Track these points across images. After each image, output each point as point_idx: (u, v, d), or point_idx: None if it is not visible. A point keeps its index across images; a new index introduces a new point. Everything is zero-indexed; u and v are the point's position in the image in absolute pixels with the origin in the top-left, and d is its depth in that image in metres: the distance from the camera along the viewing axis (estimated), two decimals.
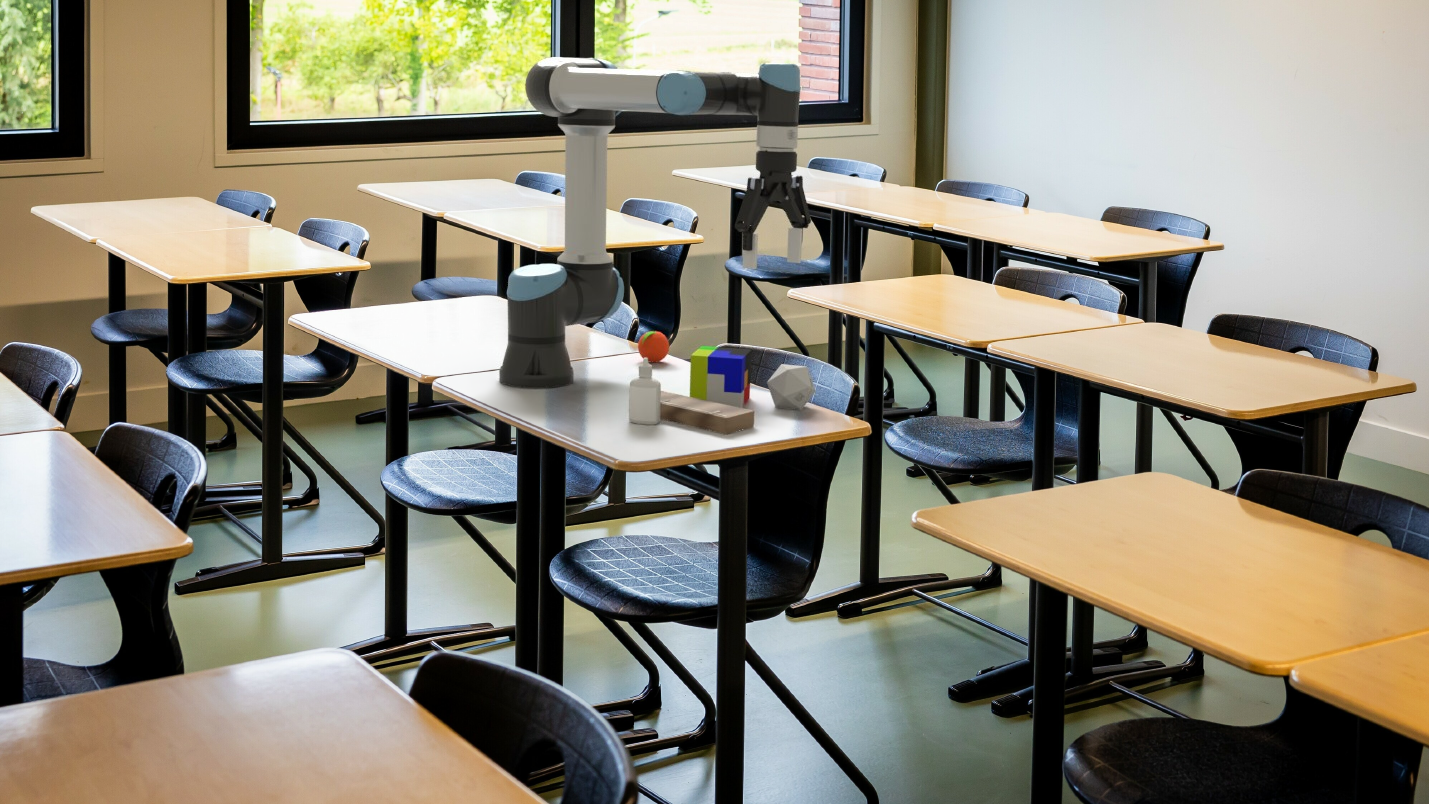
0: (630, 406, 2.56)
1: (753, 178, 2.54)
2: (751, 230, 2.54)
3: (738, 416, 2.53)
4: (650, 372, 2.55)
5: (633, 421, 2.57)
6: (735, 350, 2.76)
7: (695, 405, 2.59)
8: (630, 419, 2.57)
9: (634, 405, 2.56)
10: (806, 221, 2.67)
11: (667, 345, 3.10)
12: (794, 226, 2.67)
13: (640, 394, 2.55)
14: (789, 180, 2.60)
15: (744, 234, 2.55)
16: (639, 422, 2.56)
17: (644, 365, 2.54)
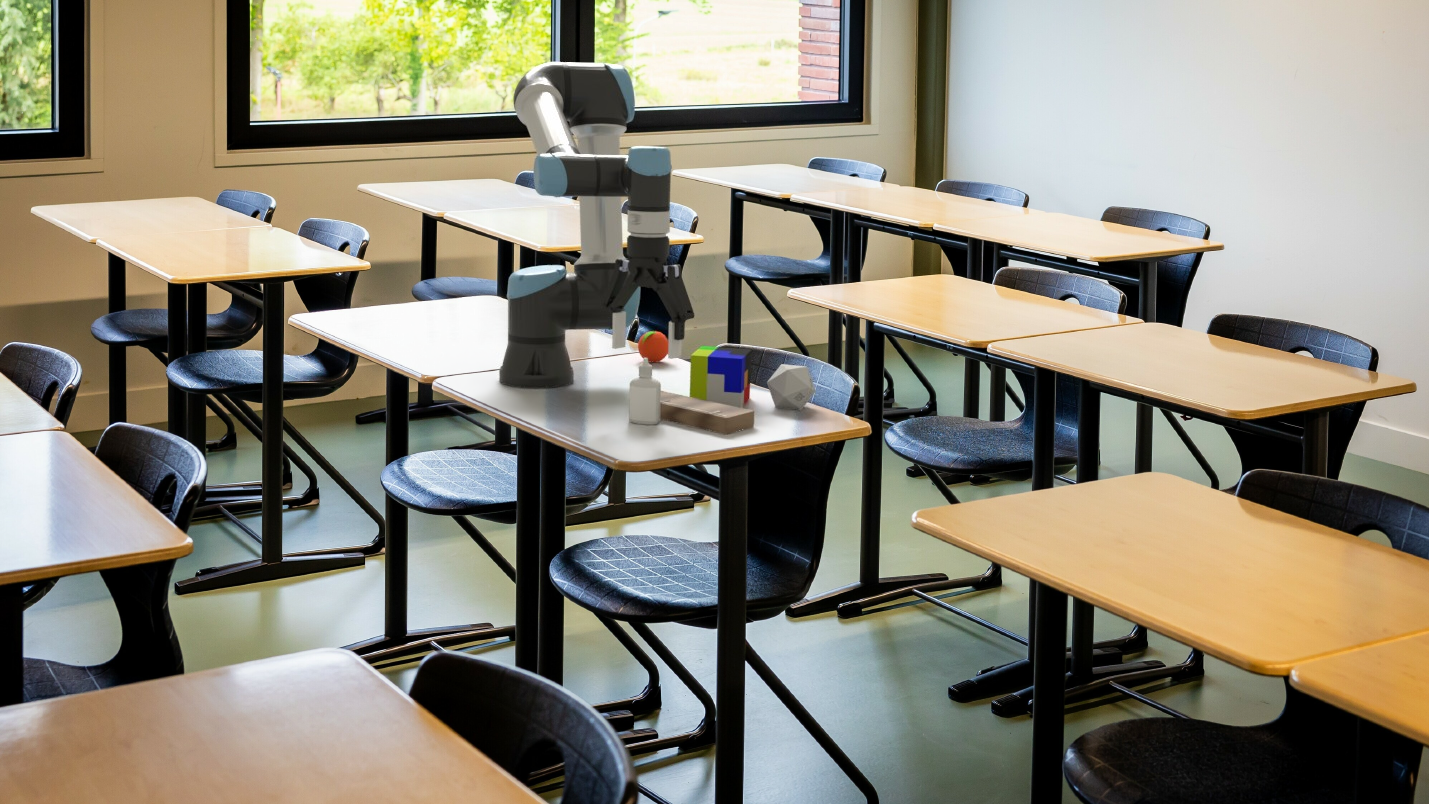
0: (630, 406, 2.56)
1: (621, 259, 2.55)
2: (609, 309, 2.57)
3: (738, 416, 2.53)
4: (650, 372, 2.55)
5: (633, 421, 2.57)
6: (735, 350, 2.76)
7: (695, 405, 2.59)
8: (630, 419, 2.57)
9: (634, 405, 2.56)
10: None
11: (667, 345, 3.10)
12: None
13: (640, 394, 2.55)
14: (655, 268, 2.48)
15: None
16: (639, 422, 2.56)
17: (644, 365, 2.54)
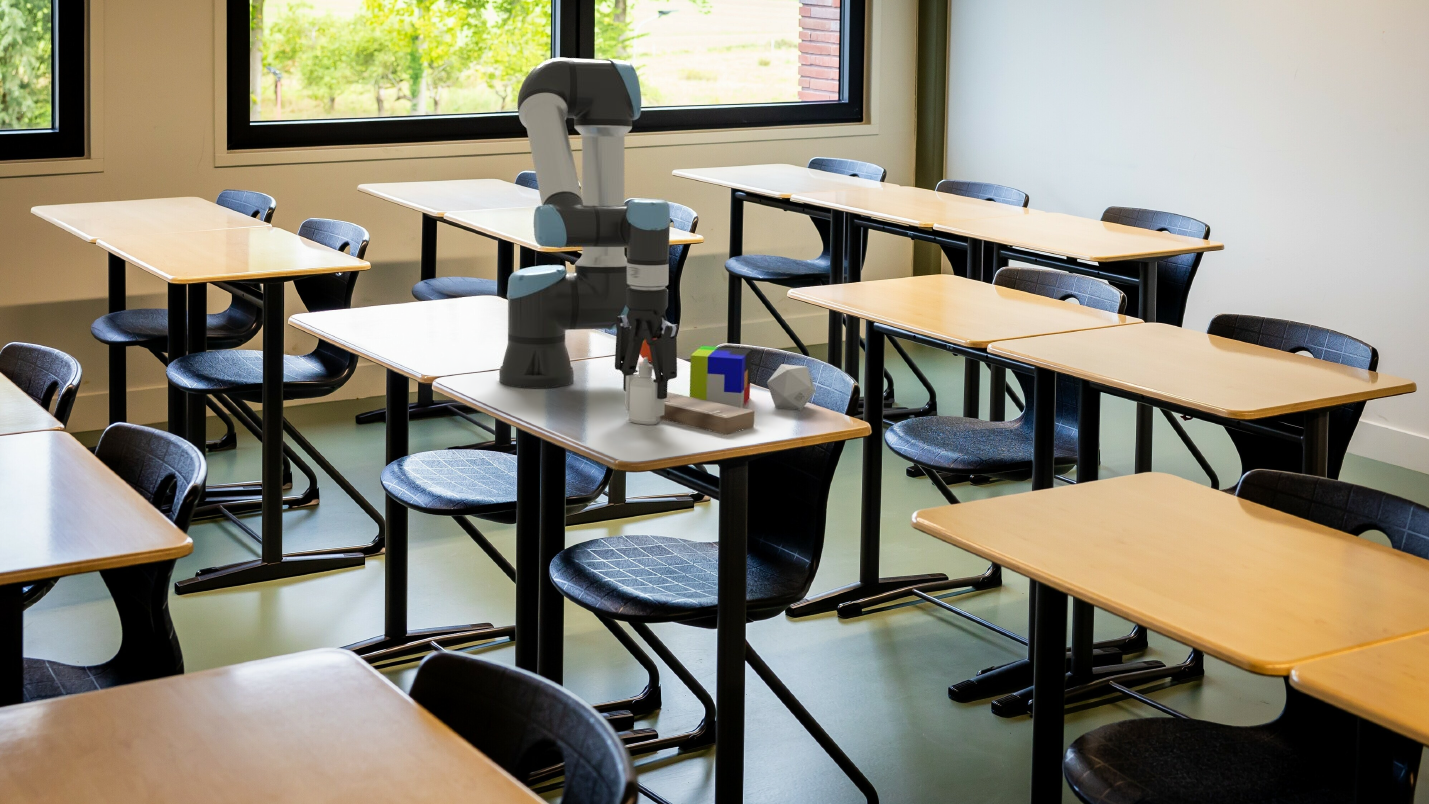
0: (630, 406, 2.56)
1: None
2: (622, 372, 2.57)
3: (738, 416, 2.53)
4: (650, 372, 2.55)
5: (633, 421, 2.57)
6: (735, 350, 2.76)
7: (695, 405, 2.59)
8: (630, 419, 2.57)
9: (634, 405, 2.56)
10: None
11: None
12: None
13: (640, 394, 2.55)
14: (654, 319, 2.51)
15: None
16: (639, 422, 2.56)
17: (644, 365, 2.54)
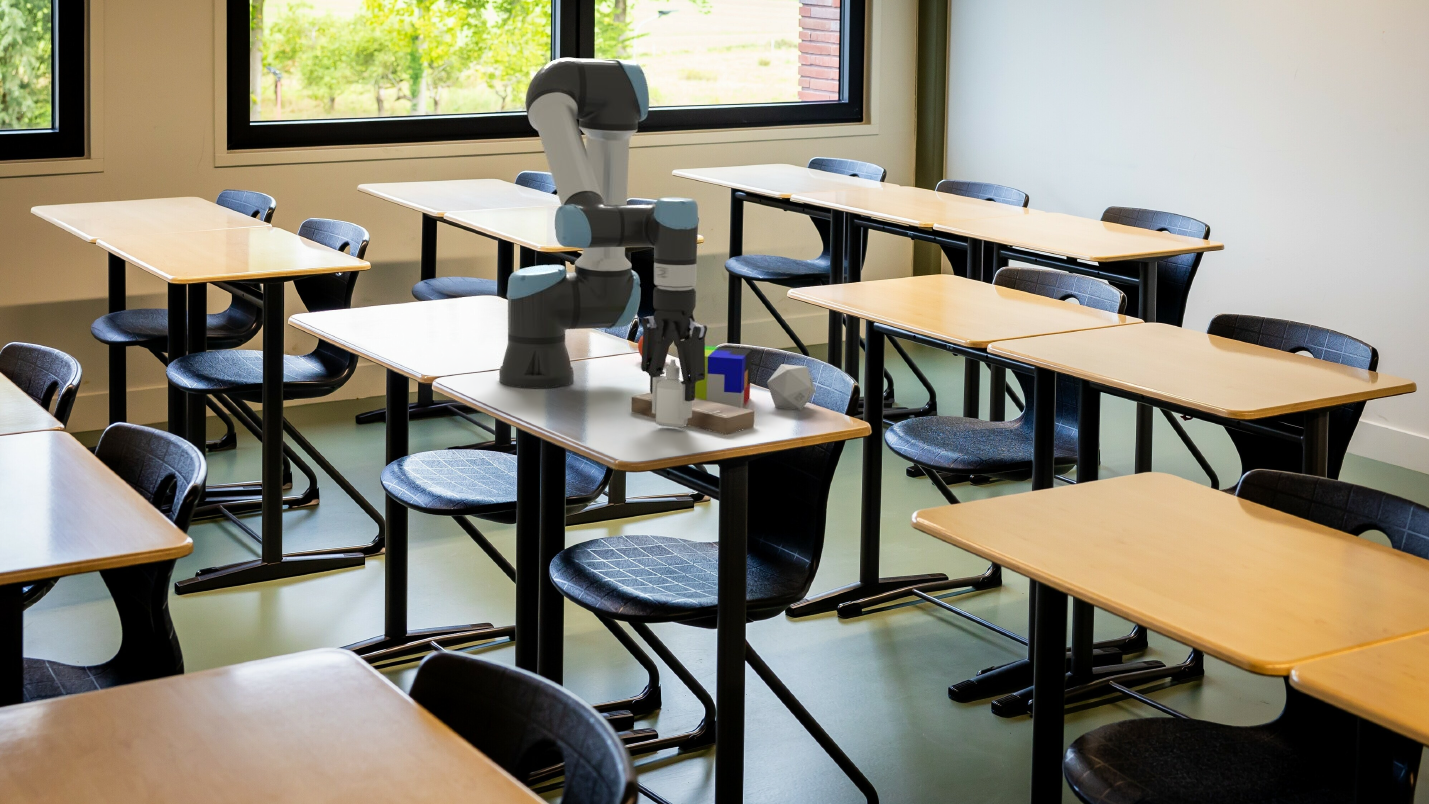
0: (657, 408, 2.52)
1: None
2: (649, 374, 2.53)
3: (738, 416, 2.53)
4: (677, 374, 2.50)
5: (660, 423, 2.52)
6: (735, 350, 2.76)
7: (695, 405, 2.59)
8: (657, 421, 2.53)
9: (661, 407, 2.51)
10: None
11: None
12: None
13: (667, 396, 2.50)
14: (682, 320, 2.46)
15: None
16: (666, 424, 2.52)
17: (671, 366, 2.50)
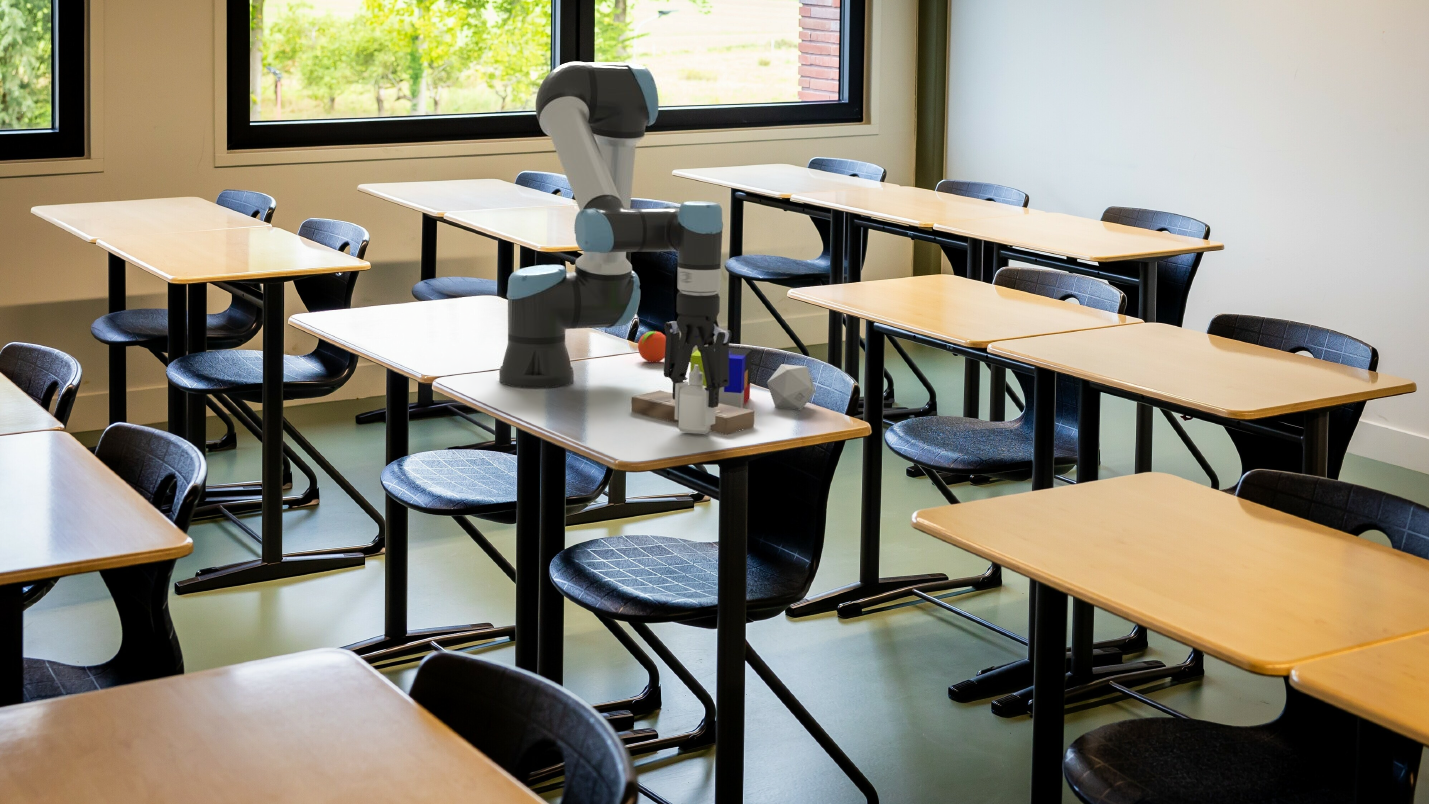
0: (680, 414, 2.49)
1: None
2: (672, 380, 2.50)
3: (738, 416, 2.53)
4: (701, 379, 2.47)
5: (683, 430, 2.49)
6: (735, 350, 2.76)
7: None
8: (680, 428, 2.49)
9: (684, 413, 2.48)
10: None
11: None
12: None
13: (690, 403, 2.47)
14: (706, 326, 2.43)
15: None
16: (689, 431, 2.49)
17: (695, 372, 2.47)
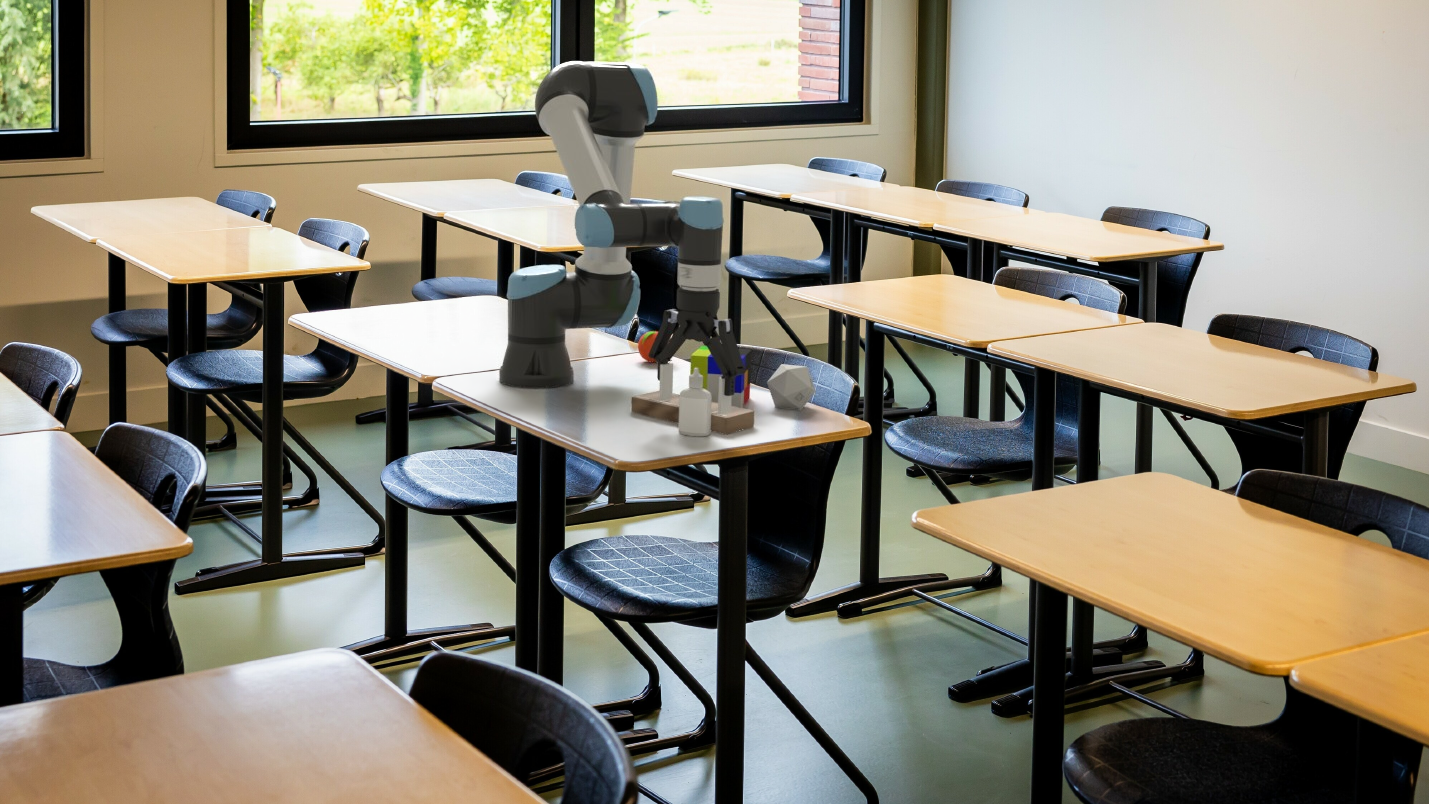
0: (680, 417, 2.49)
1: (669, 310, 2.50)
2: (656, 360, 2.52)
3: (738, 416, 2.53)
4: (701, 382, 2.47)
5: (683, 433, 2.49)
6: None
7: None
8: (680, 431, 2.50)
9: (684, 416, 2.48)
10: None
11: None
12: None
13: (690, 405, 2.47)
14: (705, 322, 2.43)
15: None
16: (689, 434, 2.49)
17: (695, 375, 2.47)
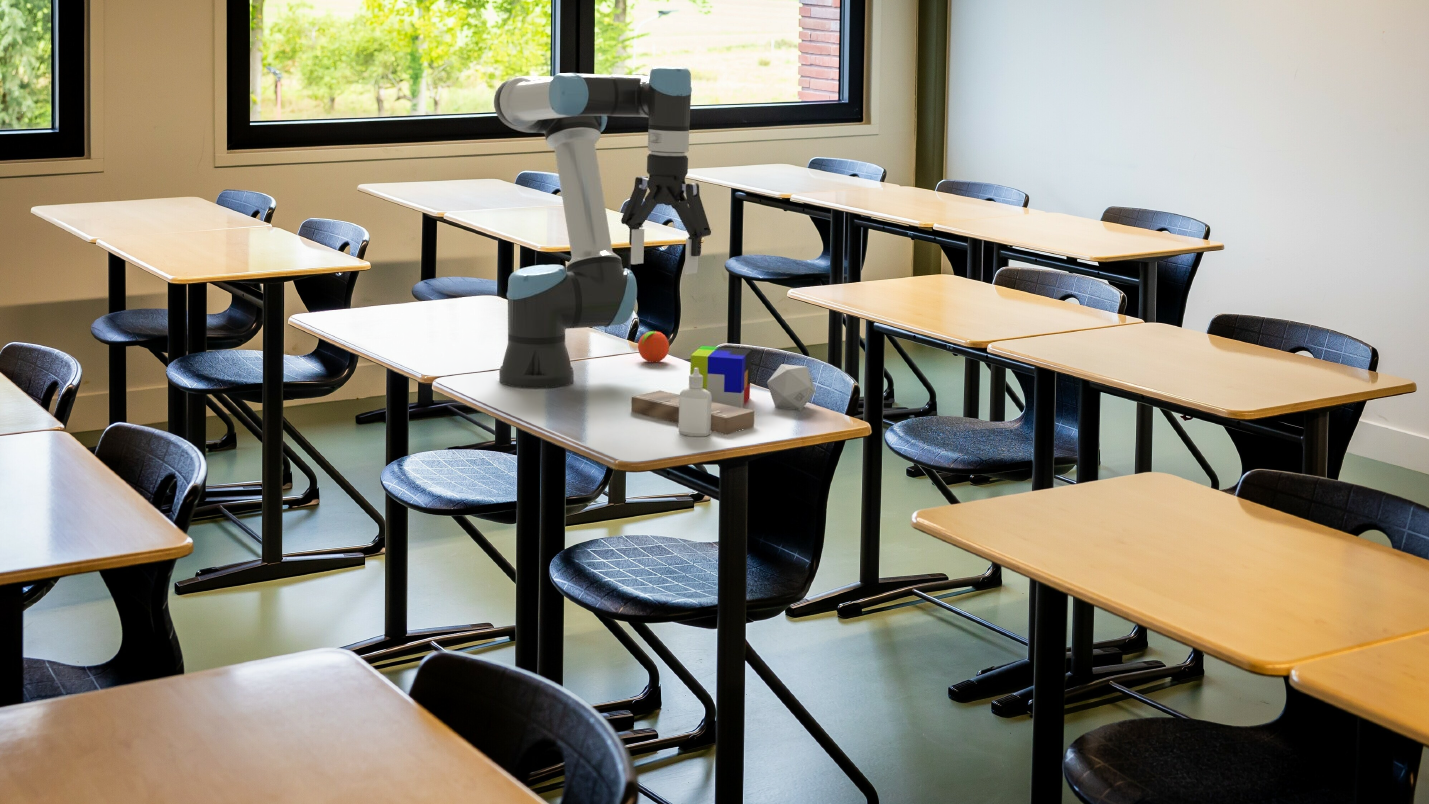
0: (680, 417, 2.49)
1: None
2: (628, 225, 2.66)
3: (738, 416, 2.53)
4: (701, 382, 2.47)
5: (683, 433, 2.49)
6: (735, 350, 2.76)
7: None
8: (680, 431, 2.50)
9: (684, 416, 2.48)
10: None
11: (667, 345, 3.10)
12: None
13: (690, 406, 2.47)
14: (674, 186, 2.57)
15: None
16: (689, 434, 2.49)
17: (695, 375, 2.47)
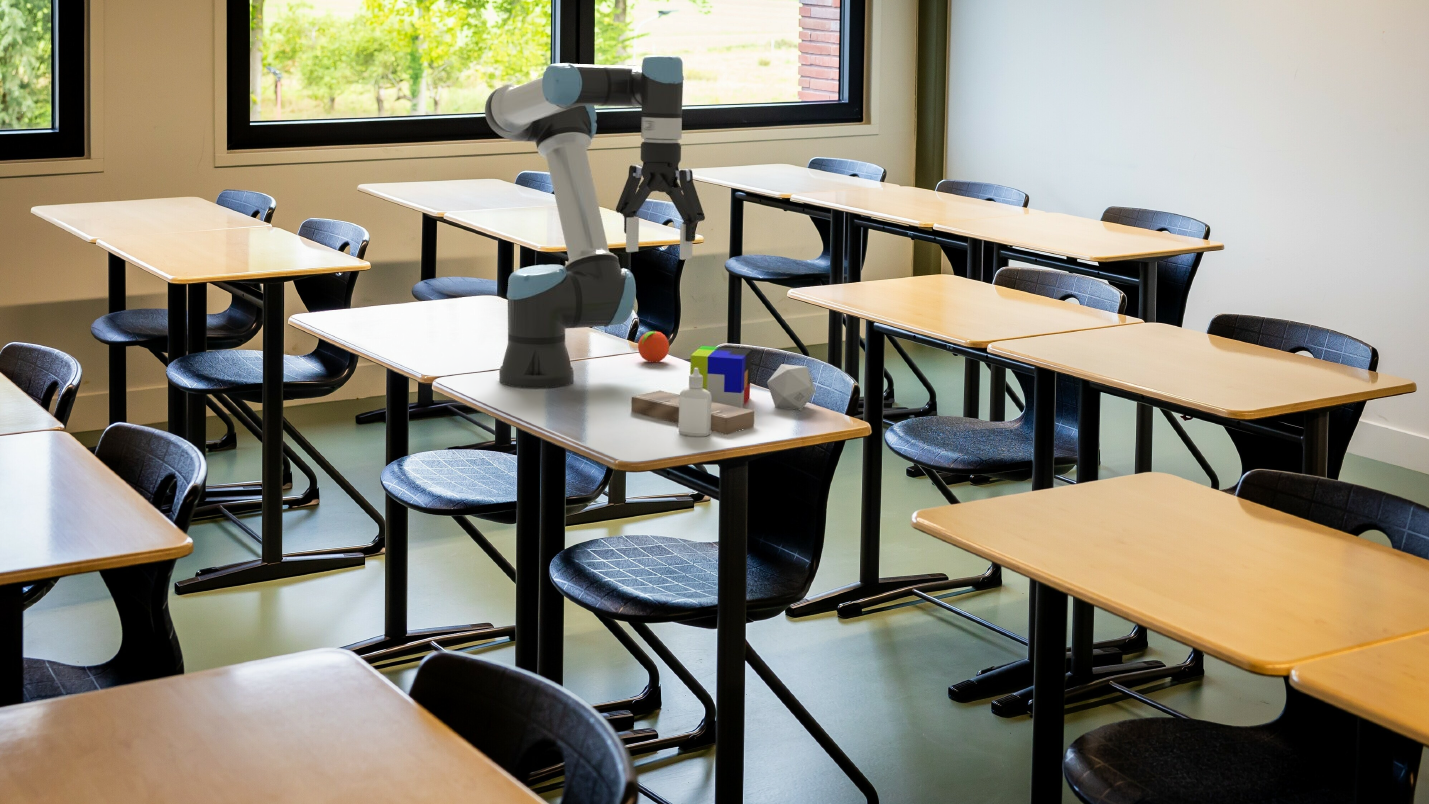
0: (680, 417, 2.49)
1: None
2: (623, 214, 2.69)
3: (738, 416, 2.53)
4: (701, 382, 2.47)
5: (683, 433, 2.49)
6: (735, 350, 2.76)
7: None
8: (680, 431, 2.50)
9: (684, 416, 2.48)
10: None
11: (667, 345, 3.10)
12: None
13: (690, 406, 2.47)
14: (667, 172, 2.60)
15: None
16: (689, 434, 2.49)
17: (695, 375, 2.47)
